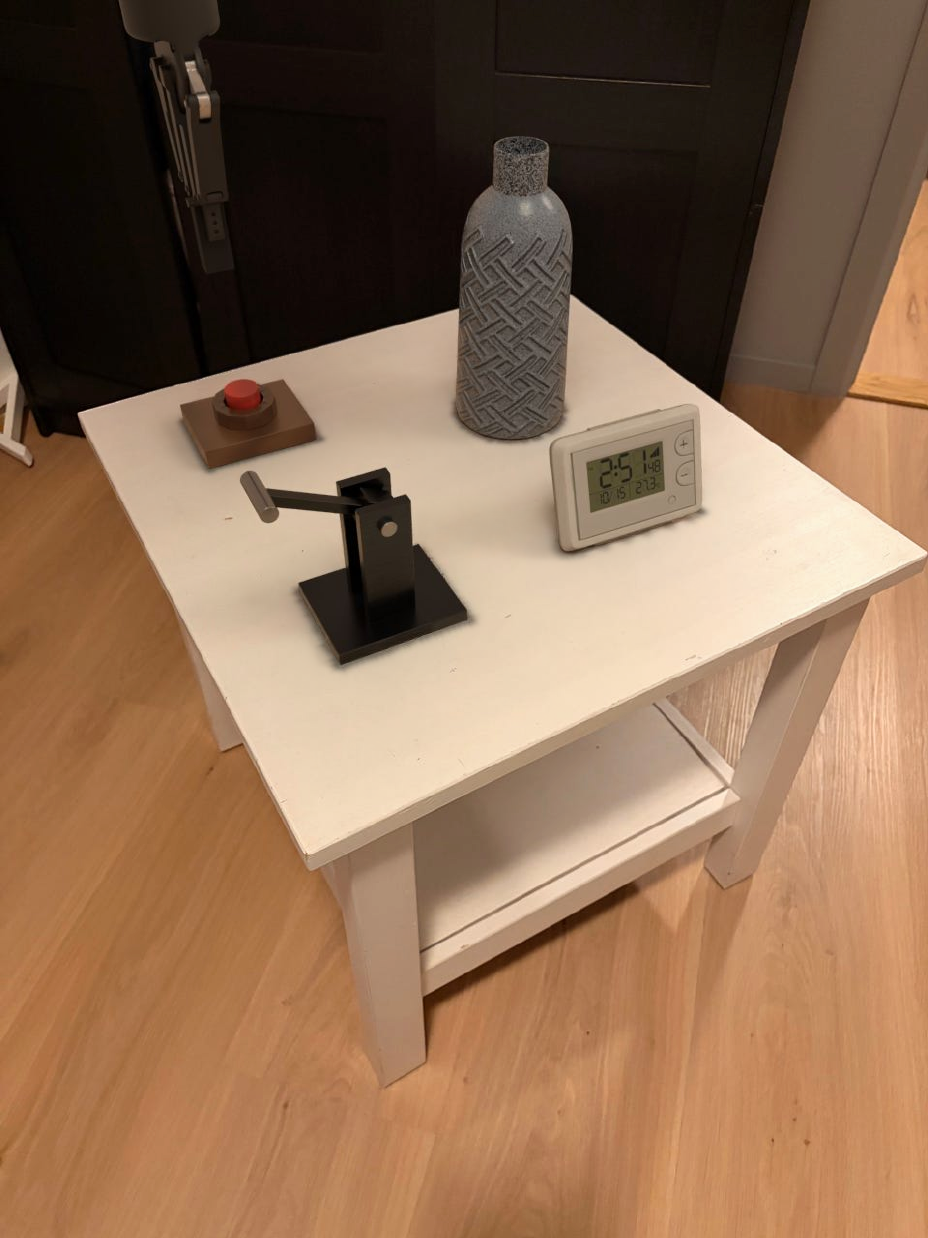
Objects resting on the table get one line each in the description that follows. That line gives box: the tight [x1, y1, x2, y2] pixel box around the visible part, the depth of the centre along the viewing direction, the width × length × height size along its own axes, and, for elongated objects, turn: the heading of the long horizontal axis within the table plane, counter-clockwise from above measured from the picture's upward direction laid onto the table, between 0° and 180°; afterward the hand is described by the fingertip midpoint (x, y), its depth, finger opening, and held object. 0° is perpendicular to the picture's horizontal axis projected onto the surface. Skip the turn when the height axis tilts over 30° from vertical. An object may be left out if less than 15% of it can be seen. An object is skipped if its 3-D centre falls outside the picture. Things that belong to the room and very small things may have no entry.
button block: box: [179, 378, 317, 470], centre depth 101 cm, size 12×10×4 cm
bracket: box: [297, 466, 468, 666], centre depth 78 cm, size 12×10×13 cm
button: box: [223, 378, 261, 410], centre depth 99 cm, size 4×4×2 cm
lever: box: [239, 470, 395, 524], centre depth 72 cm, size 12×5×2 cm, turn 117°
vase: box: [455, 136, 574, 440], centre depth 95 cm, size 12×12×28 cm
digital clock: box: [548, 403, 703, 552], centre depth 88 cm, size 16×9×11 cm, turn 103°
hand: (218, 268), depth 89 cm, fingers closed
